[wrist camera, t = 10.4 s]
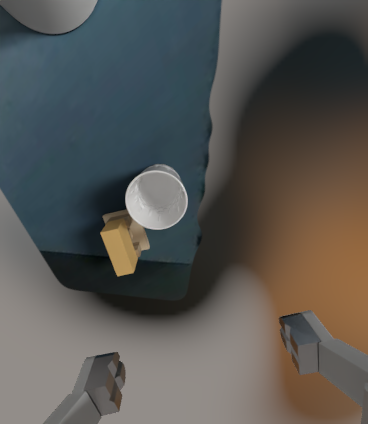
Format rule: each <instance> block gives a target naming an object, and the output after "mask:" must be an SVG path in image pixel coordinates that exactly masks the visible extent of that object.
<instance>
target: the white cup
mask: <svg viewBox="0 0 368 424" xmlns="http://www.w3.org/2000/svg"><path fill="white" fill-rule="evenodd" d="M125 203H126V208H127V210H128V213H129V214H130V216H131V217H132V218H133V220H134V221H136V222H137V223H138V224H140V225H141V226H143V227H146V228H149V229H154V230H160V229H166V228H169V227H171V226H173V225H174V224H176V223H177V222H178V221H179V220H180V219H181V218H182V217H183V215H184V213H185V211H186V208H187V194H186V191H185V188H184V185H183V183H182V181H181V179H180V177H179V175H178V174H177V173H176V171H175V170H174V169H173V168H172V167H169V166H167V165H165V164H154V165H152V166H151V167H148V168H147V169H145V170H144V171H142V172H141V173H140V174H139V175H138V176H137V177H135V178H134V179H133V180H132V182H131V183H130V184H129V186H128V188H127V191H126V195H125Z"/></svg>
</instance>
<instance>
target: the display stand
mask: <svg viewBox="0 0 368 424" xmlns="http://www.w3.org/2000/svg"><path fill="white" fill-rule="evenodd" d="M102 217H103V219H104V222H105V225H106V224H107V222H109V221H114V220H118V219H122V218H124V221H125V223H126V226H127V229H128V232H129V235H130V238H131V241H132V244H133V247H134V249H135V252H136V255H137V257H140V254H141V251H142V250H146V249H149V248H150V245H149V242H148V239H147V236H146V233H145V230H144V227H143V226H141V225H140V224H138V223H137V222H136V221H134V220H133V218H132V217H131V216H130V214H129V213H128V210H127V209H125V210H121V211H117V212H113V213H108V214H104V215H103V216H102Z"/></svg>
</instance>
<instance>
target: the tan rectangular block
mask: <svg viewBox="0 0 368 424" xmlns="http://www.w3.org/2000/svg"><path fill="white" fill-rule="evenodd" d="M100 234H101V236H102V239H103V241H104V244H105V246H106V249H107V251H108V254H109V256H110V259H111V261H112V264H113V266H114V269H115V271H116V274H117V276H121V275H126V274H130V273H134V270H135V266H136V263H137V259H138V258H137V255H136V252H135V249H134V247H133V244H132V241H131V238H130V235H129V232H128V229H127V226H126V223H125V221H124V218H122V219H118V220H114V221H109V222H107V224H106V225H105V227H104V228H103V229H102V231H101V232H100Z"/></svg>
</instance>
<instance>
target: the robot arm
mask: <svg viewBox="0 0 368 424" xmlns="http://www.w3.org/2000/svg"><path fill="white" fill-rule="evenodd" d="M96 3H97V0H0V5H1V6H2V7H3V8H4V9H5V10H6V11H7V12H8V13H9V14H10V15H12V16H13V17H14V18H15V19H16V20H18V21H19V22H20V23H22V24H23V25H25V26H27V27H29V28H31V29H33V30H35V31H38V32H42V33H47V34H61V33H65V32H69V31H71V30H73V29H75V28H77V27H78V26H80V25H81V24H82V23H83V22H84V21H85V20H86V19H87V18H88V17H89V16H90V14H91V13H92V11H93V9H94V7H95V5H96ZM279 323H280V325H281V329H280V333H281V338H282V341H283V343H284V345H285V348H286V350H287V351H288V352H289V353H291V355H292V361H293V363H294V365H295V367H296V369H297V371H298V373H299V374H300V375H302V374H308V373H314V372H319V373H320V374H321V375H323V376H324V377H325V378H326V379H327V380H329V381H330V382H331V383H333V384H334V385H335V386H336V387H337V388H339V389H340V390H341V391H342V392H344V393H345V394H346V395H347V396H349V397H350V398H351V399H352V400H354V401H355V402H356V403H357V404H359V405H360V406H361V407H362V419H361V424H368V355H366V354H364V353H363V352H360V351H359V350H357V349H355V348H353V347H352V346H350V345H348V344H346V343H344V342H343V341H341V340H339V339H333V337H332V336H331V335H330V333H329V332H328V331H327V330H326V329H325V327H324V326H323V324H322V323H321V322H320V321H319V319H318V318H317V317H316V315H315V314H314V313H313V312H312V311H311V310H309V311H304V312H300V313H294V314H290V315H285V316H282V317H279ZM119 358H120V356H119V354H118V352H114V353H108V354H103V355H97V356H93V357H87V358H86V359H85V361H84V363H83V366H82V368H81V371H80V374H79V376H78V379H77V381H76V384H75V386H74V389H73V391H72V394H69V395H68V396H67V397H66V398H65V399H64V400H63V401H62V403H61V404H60V405H59V406H58V407H57V408H56V409H55V411H54V412H53V413H52V414H51V415H50V416H49V417H48V419H47V420H46V421H45V422H44V423H43V424H97V423H98V422H99V420H100V419H101V416H103V415H107V414H112V413H116V412H119V410H120V404H121V399H122V394H121V392H120V390H121V389H122V387H123V386H124V383H125V367H124V364H123V363H122V362H121V361H119Z"/></svg>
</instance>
